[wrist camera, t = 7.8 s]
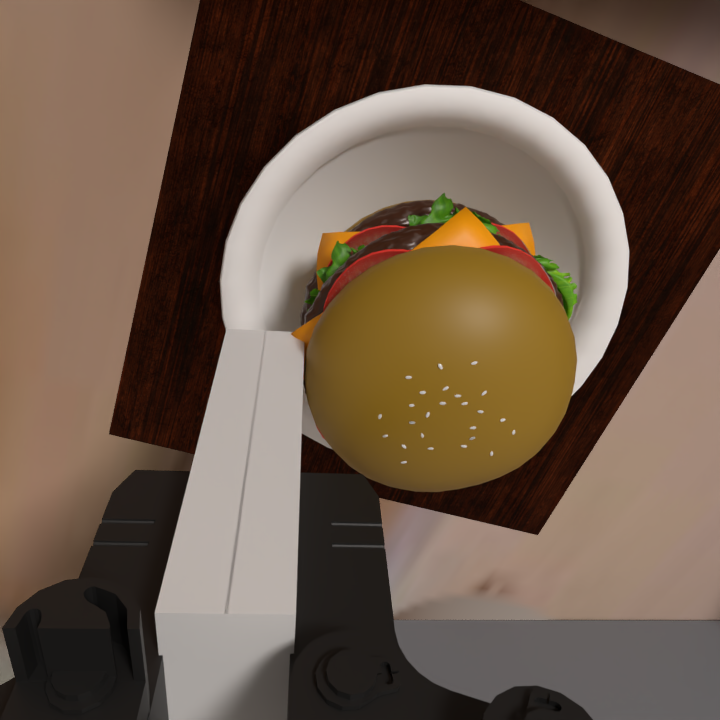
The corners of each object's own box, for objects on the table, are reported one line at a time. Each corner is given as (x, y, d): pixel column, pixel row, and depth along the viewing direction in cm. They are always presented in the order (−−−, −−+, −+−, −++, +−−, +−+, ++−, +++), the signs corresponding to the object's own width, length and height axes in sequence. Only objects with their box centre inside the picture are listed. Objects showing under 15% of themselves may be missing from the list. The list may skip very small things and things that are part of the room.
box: (298, -337, 10) (289, -499, 7) (1304, -216, 11) (1731, -297, 8) (280, 641, 21) (272, 774, 17) (797, 641, 22) (885, 764, 19)
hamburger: (788, 114, 14) (1024, 186, 9) (533, 523, 20) (602, 699, 15) (229, -119, 12) (169, -182, 7) (113, 423, 17) (36, 595, 12)
